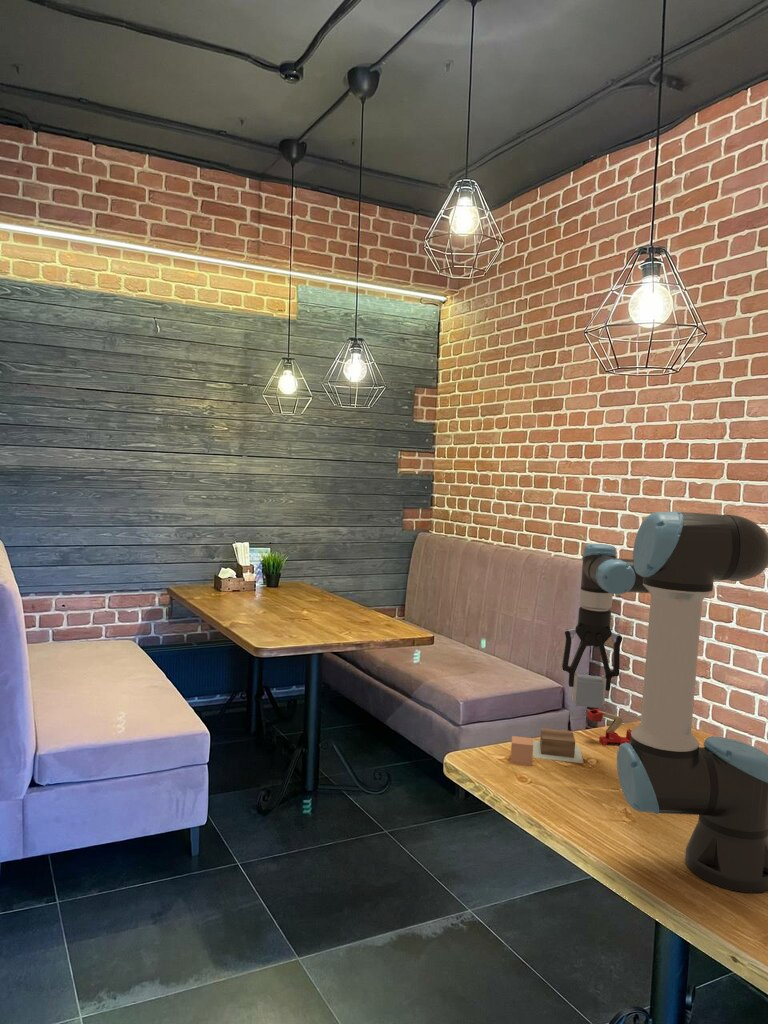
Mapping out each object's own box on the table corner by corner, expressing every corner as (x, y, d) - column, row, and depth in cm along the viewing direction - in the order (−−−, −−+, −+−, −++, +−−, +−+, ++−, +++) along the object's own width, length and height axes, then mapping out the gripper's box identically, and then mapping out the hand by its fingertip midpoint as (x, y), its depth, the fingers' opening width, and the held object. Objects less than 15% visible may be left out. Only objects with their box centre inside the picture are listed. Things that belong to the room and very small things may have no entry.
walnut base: (574, 757, 187) (575, 741, 187) (541, 753, 188) (542, 738, 188) (571, 746, 195) (572, 731, 195) (540, 742, 196) (541, 727, 196)
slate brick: (601, 708, 181) (603, 683, 181) (576, 705, 182) (577, 681, 182) (599, 700, 187) (601, 676, 186) (574, 697, 188) (576, 674, 188)
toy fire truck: (640, 750, 198) (643, 714, 197) (589, 748, 197) (591, 712, 196) (635, 745, 201) (638, 710, 201) (584, 744, 200) (587, 708, 200)
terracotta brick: (531, 770, 180) (533, 745, 180) (510, 767, 181) (512, 743, 181) (531, 762, 185) (532, 738, 185) (510, 759, 186) (512, 735, 186)
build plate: (583, 767, 184) (583, 763, 184) (533, 761, 186) (533, 757, 186) (579, 749, 196) (579, 746, 196) (531, 744, 198) (532, 740, 197)
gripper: (634, 608, 185) (626, 701, 186) (554, 601, 188) (547, 692, 190) (638, 614, 177) (630, 710, 179) (555, 607, 181) (548, 701, 183)
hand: (587, 701), depth 184 cm, fingers closed on slate brick, 6 cm apart
